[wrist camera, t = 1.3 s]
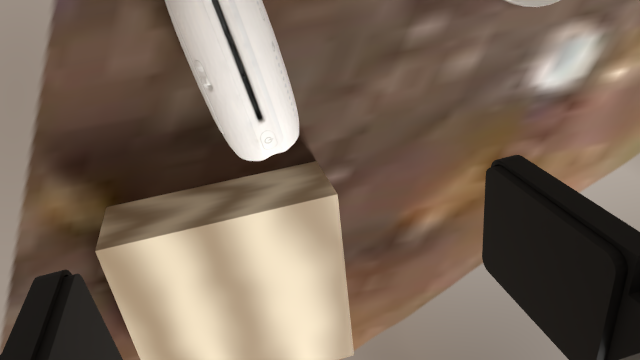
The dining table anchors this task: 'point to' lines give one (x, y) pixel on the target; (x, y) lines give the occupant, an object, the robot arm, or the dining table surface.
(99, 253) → the birch block
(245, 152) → the photo printer
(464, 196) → the dining table surface
